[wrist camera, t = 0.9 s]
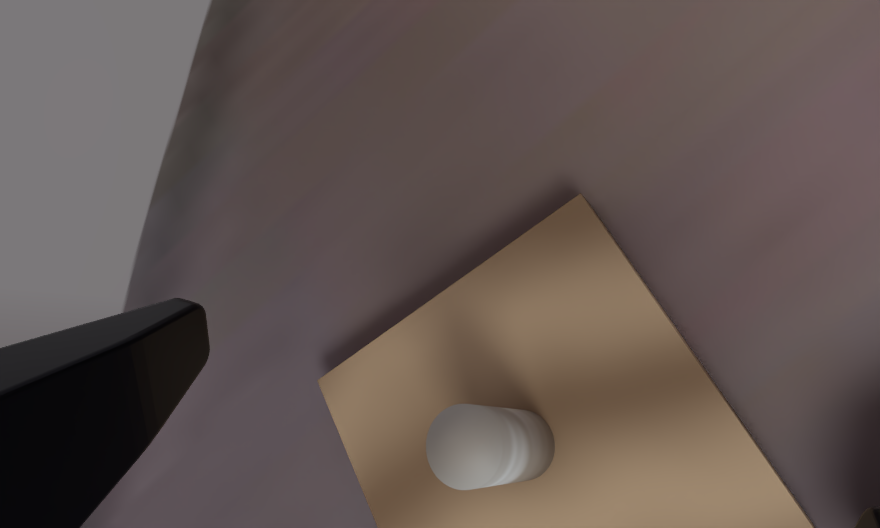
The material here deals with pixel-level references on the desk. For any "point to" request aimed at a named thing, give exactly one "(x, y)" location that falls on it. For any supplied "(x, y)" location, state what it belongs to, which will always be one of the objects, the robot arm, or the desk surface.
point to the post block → (549, 403)
